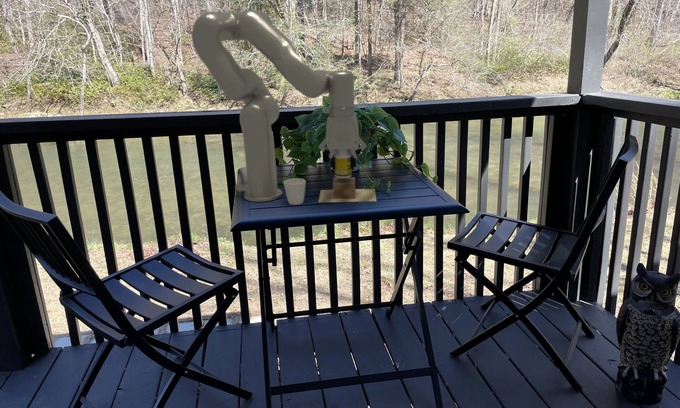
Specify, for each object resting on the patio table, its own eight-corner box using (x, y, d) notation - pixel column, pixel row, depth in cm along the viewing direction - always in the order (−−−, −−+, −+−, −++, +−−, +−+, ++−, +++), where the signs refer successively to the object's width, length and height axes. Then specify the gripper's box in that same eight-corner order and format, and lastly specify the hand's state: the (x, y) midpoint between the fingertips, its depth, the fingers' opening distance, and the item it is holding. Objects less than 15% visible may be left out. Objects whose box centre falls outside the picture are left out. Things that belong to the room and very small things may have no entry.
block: (333, 199, 166) (332, 183, 165) (333, 192, 173) (333, 177, 172) (355, 198, 166) (355, 183, 165) (355, 191, 173) (354, 177, 171)
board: (318, 205, 164) (318, 202, 164) (320, 192, 176) (320, 189, 176) (376, 204, 164) (376, 201, 163) (374, 191, 176) (374, 188, 176)
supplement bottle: (350, 179, 165) (349, 148, 161) (333, 178, 166) (332, 148, 163) (353, 174, 170) (352, 144, 166) (336, 173, 171) (336, 144, 168)
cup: (282, 209, 161) (280, 184, 159) (288, 199, 171) (287, 175, 168) (305, 209, 161) (303, 184, 158) (310, 199, 170) (309, 175, 167)
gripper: (313, 114, 158) (315, 173, 164) (370, 113, 157) (370, 172, 163) (314, 111, 165) (316, 167, 171) (369, 109, 164) (369, 166, 170)
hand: (343, 168), depth 167 cm, fingers closed on supplement bottle, 5 cm apart
